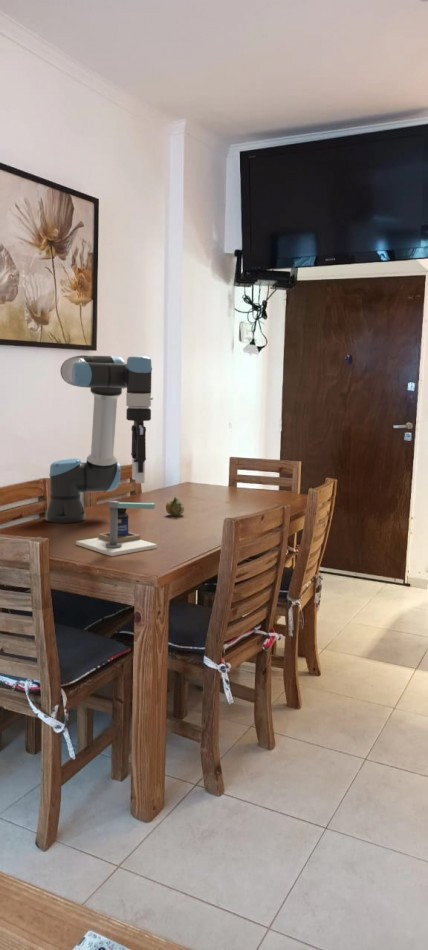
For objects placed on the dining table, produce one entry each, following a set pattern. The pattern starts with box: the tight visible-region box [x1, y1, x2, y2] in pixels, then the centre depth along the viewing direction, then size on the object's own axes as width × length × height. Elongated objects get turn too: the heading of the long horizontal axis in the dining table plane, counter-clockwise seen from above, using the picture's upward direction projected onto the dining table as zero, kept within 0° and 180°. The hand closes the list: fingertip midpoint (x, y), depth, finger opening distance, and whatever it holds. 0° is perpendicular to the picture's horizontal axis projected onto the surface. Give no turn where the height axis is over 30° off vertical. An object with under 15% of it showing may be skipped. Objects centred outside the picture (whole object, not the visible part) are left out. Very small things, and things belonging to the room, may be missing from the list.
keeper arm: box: [107, 500, 156, 510], centre depth 225 cm, size 15×4×2 cm, turn 89°
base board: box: [75, 508, 158, 557], centre depth 231 cm, size 20×18×14 cm
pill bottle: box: [117, 508, 129, 538], centre depth 237 cm, size 6×6×11 cm
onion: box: [165, 496, 185, 517], centre depth 288 cm, size 8×8×8 cm
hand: (138, 481), depth 220 cm, fingers open, 8 cm apart
